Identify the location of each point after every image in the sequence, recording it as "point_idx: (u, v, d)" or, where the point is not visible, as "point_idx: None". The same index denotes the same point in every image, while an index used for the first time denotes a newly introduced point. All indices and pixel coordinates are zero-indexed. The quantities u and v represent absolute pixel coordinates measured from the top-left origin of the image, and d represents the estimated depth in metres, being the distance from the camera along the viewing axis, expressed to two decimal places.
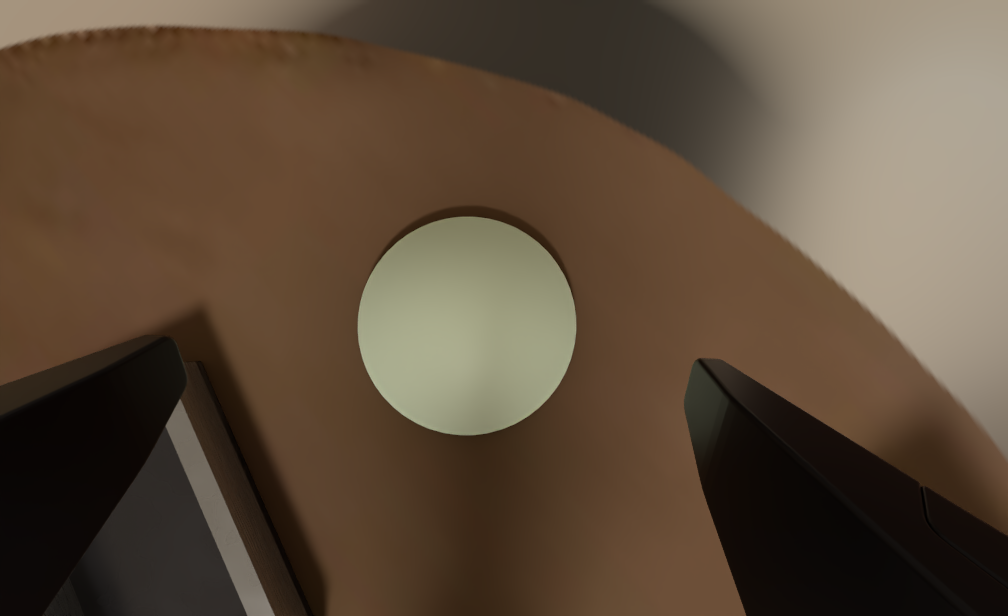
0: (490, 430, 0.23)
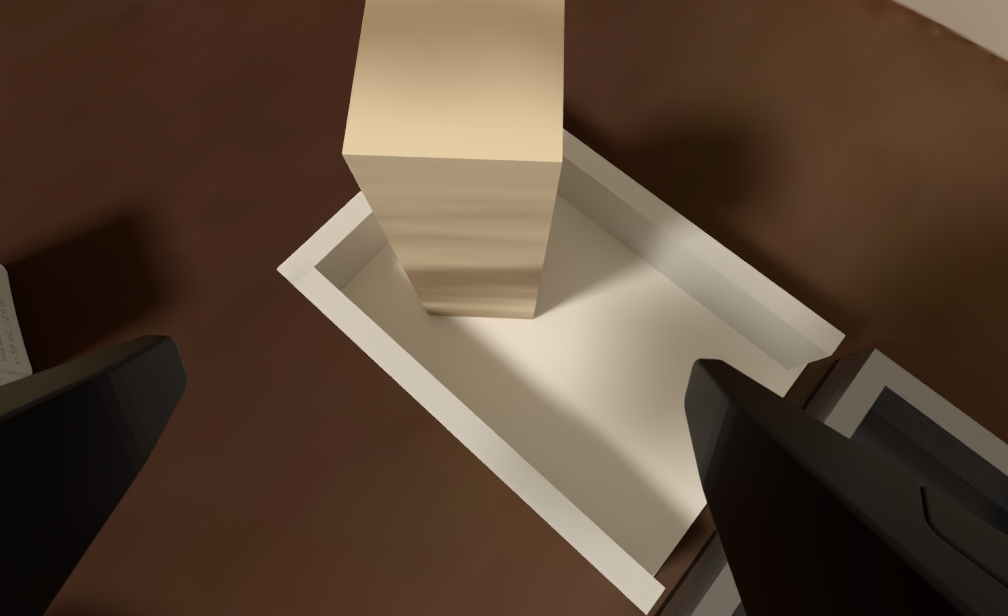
0: None
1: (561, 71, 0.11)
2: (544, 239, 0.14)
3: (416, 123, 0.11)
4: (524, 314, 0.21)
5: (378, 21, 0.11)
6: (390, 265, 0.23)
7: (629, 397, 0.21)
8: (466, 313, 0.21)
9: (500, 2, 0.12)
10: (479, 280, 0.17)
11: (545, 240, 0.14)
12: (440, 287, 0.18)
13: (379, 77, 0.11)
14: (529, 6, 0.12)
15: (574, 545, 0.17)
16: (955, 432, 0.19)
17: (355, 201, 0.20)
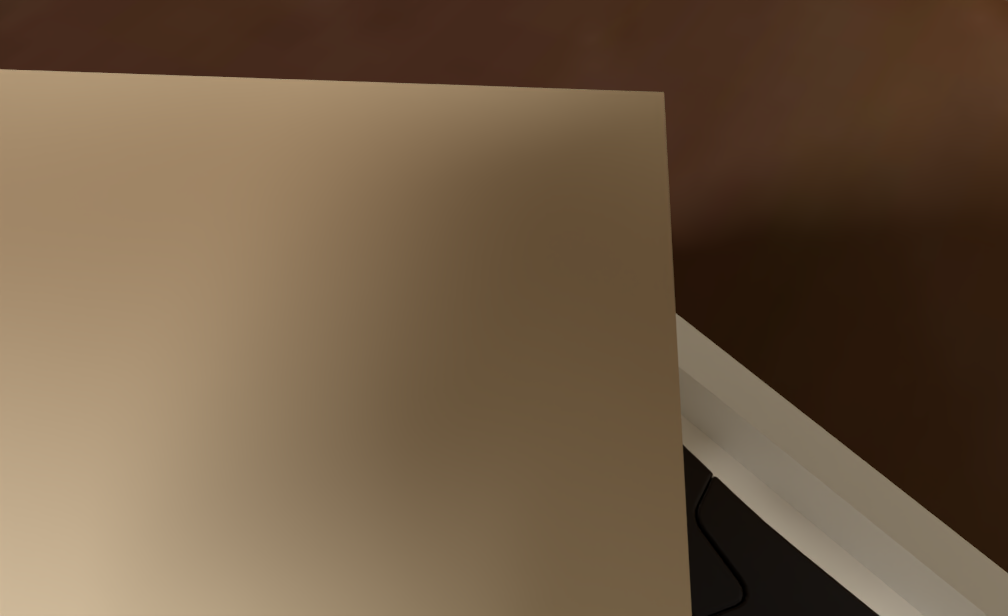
0: None
1: (673, 453, 0.03)
2: None
3: None
4: None
5: None
6: None
7: None
8: None
9: (433, 140, 0.03)
10: None
11: None
12: None
13: None
14: (540, 156, 0.03)
15: None
16: None
17: None
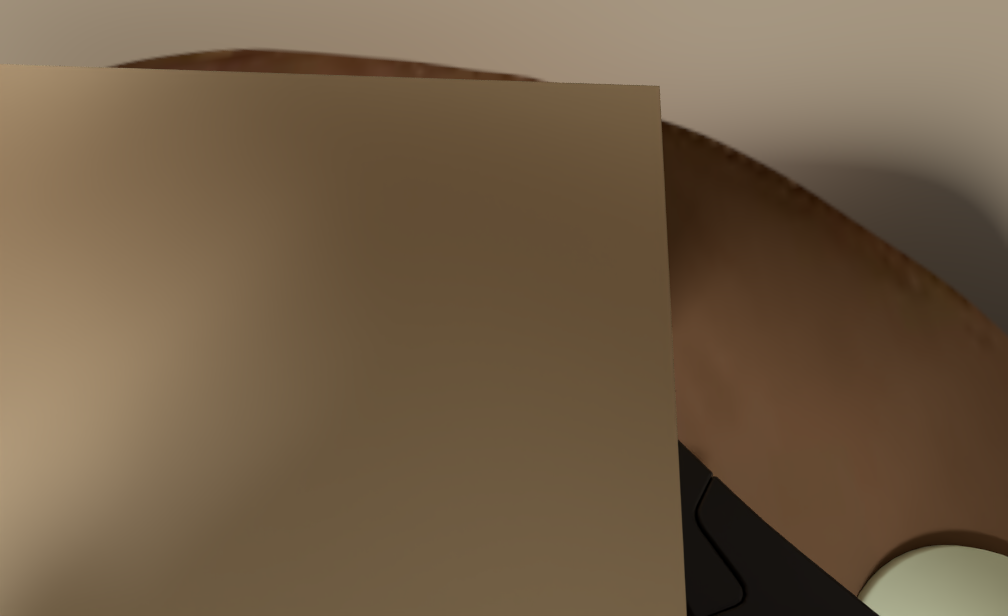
0: None
1: (669, 443, 0.03)
2: None
3: None
4: None
5: None
6: None
7: None
8: None
9: (430, 134, 0.03)
10: None
11: None
12: None
13: None
14: (536, 149, 0.03)
15: None
16: None
17: None
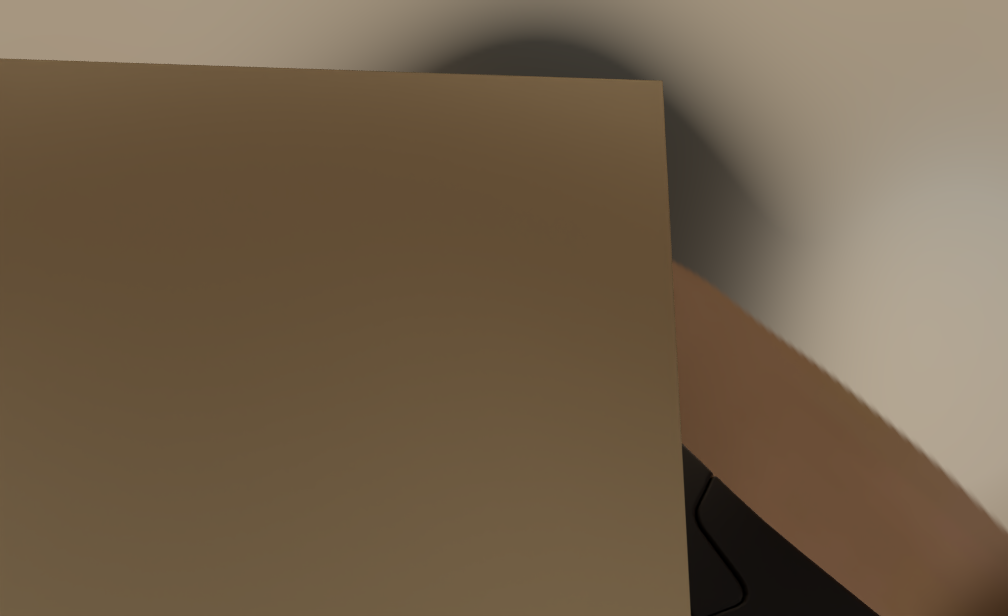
0: None
1: (672, 436, 0.03)
2: None
3: None
4: None
5: None
6: None
7: None
8: None
9: (434, 130, 0.03)
10: None
11: None
12: None
13: None
14: (540, 144, 0.03)
15: None
16: None
17: None
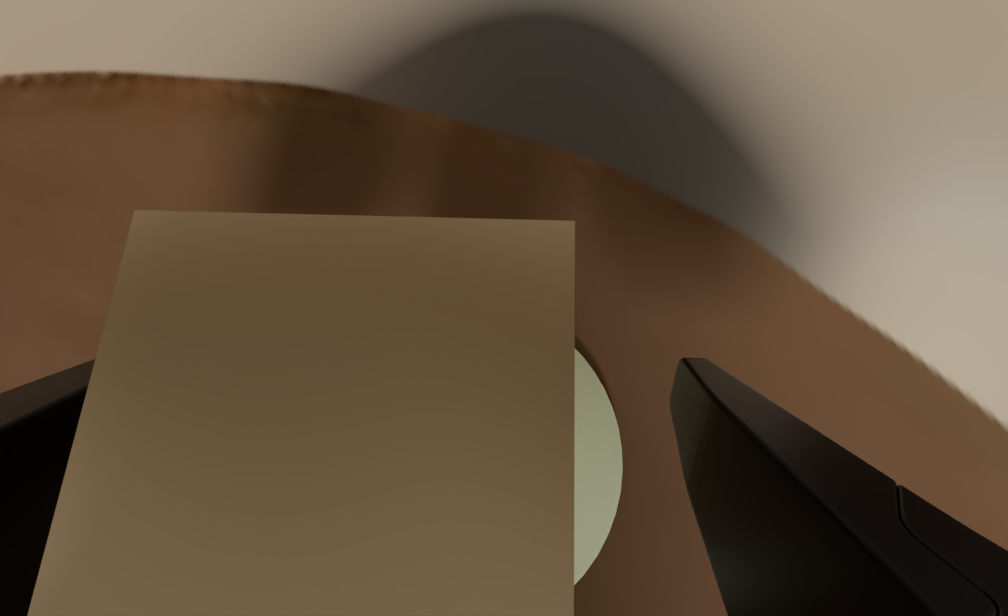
0: None
1: (569, 456, 0.04)
2: None
3: None
4: None
5: (143, 312, 0.05)
6: None
7: None
8: None
9: (426, 257, 0.05)
10: None
11: None
12: None
13: (124, 476, 0.04)
14: (494, 266, 0.05)
15: None
16: None
17: None
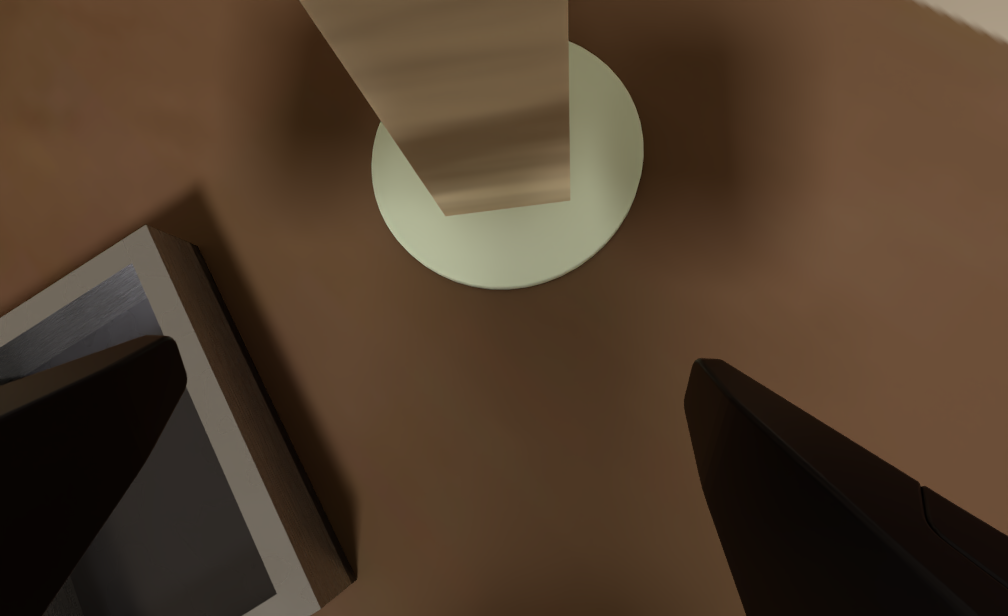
0: (546, 275, 0.18)
1: None
2: (563, 35, 0.10)
3: None
4: (558, 192, 0.17)
5: None
6: None
7: None
8: (489, 205, 0.18)
9: None
10: (492, 141, 0.14)
11: (565, 38, 0.10)
12: (447, 165, 0.15)
13: None
14: None
15: None
16: (4, 339, 0.18)
17: None
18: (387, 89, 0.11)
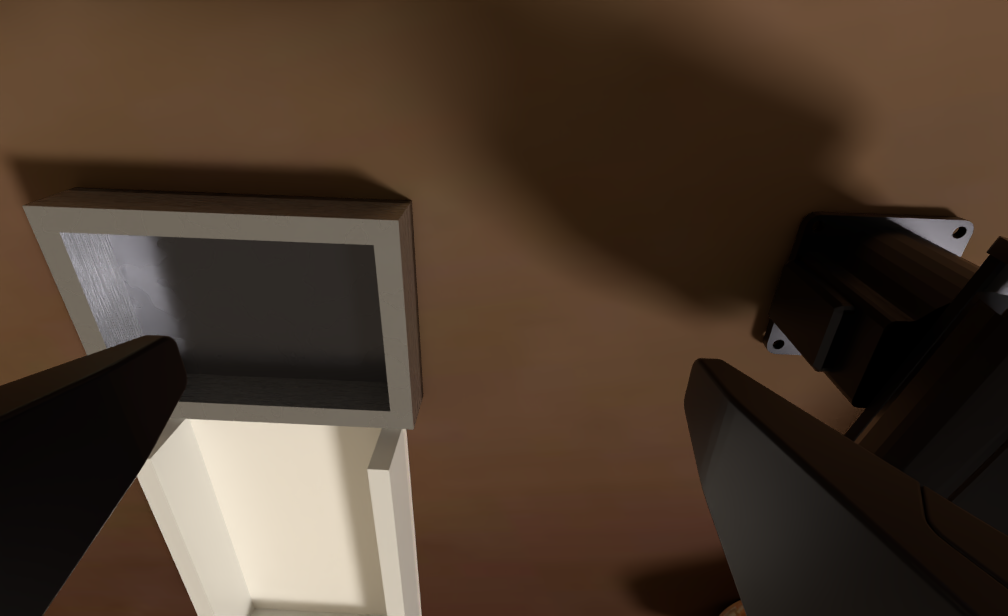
0: None
1: None
2: None
3: None
4: None
5: None
6: (367, 606, 0.33)
7: (303, 479, 0.28)
8: None
9: None
10: None
11: None
12: None
13: None
14: None
15: (392, 514, 0.25)
16: (103, 347, 0.22)
17: None
18: None
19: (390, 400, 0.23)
